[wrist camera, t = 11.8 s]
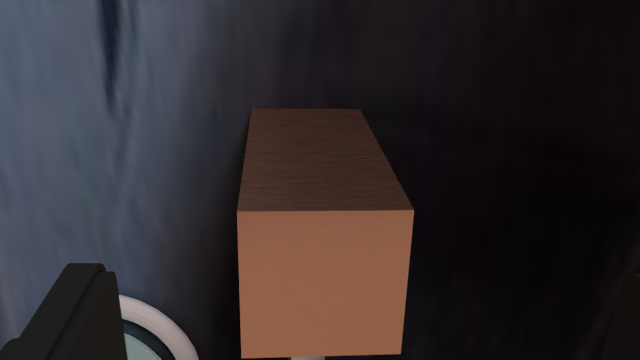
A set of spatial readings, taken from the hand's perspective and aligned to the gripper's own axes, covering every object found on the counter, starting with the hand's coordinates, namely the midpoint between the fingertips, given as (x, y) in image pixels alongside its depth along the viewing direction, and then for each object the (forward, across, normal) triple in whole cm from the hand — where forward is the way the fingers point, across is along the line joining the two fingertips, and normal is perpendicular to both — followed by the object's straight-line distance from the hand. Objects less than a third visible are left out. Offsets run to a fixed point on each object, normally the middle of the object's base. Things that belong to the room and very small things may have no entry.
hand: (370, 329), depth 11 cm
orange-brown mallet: (+11, +1, +10) cm, 15 cm away
